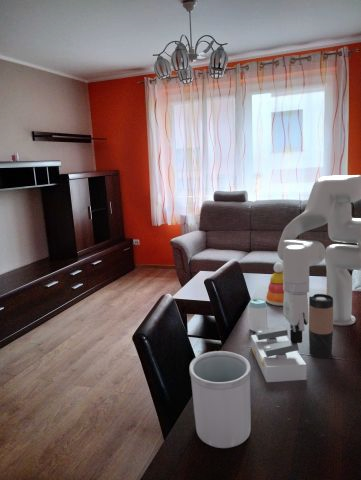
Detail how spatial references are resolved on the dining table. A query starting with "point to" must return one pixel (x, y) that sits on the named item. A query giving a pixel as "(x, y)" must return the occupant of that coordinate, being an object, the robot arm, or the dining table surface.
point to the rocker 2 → (280, 348)
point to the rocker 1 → (271, 332)
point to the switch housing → (278, 361)
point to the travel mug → (320, 325)
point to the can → (257, 314)
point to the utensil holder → (221, 398)
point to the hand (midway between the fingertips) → (296, 341)
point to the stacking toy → (276, 286)
